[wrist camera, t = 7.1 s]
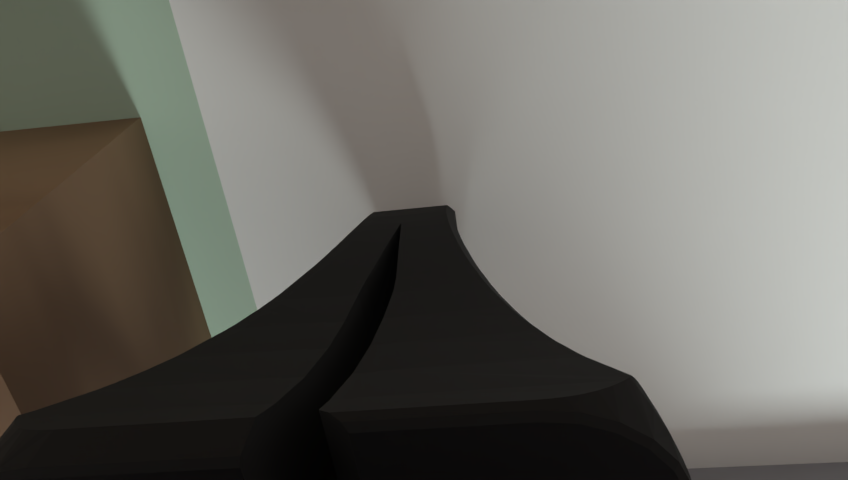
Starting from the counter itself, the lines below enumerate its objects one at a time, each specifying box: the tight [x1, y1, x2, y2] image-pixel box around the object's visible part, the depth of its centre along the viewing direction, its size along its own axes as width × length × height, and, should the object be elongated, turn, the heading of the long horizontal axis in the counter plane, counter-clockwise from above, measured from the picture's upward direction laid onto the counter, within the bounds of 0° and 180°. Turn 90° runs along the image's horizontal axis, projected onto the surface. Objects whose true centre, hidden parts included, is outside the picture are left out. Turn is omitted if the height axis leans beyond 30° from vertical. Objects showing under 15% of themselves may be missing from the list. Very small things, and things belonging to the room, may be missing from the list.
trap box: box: [0, 0, 848, 480], centre depth 12 cm, size 13×34×4 cm, turn 97°
